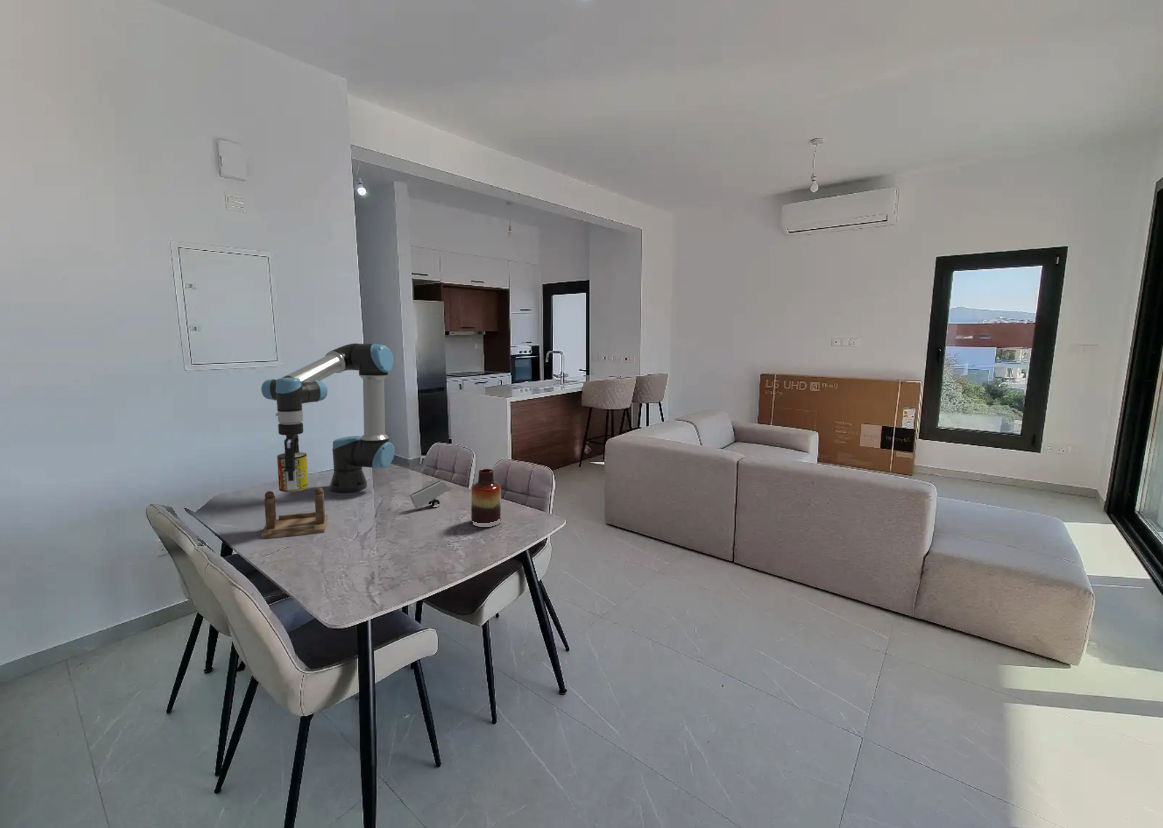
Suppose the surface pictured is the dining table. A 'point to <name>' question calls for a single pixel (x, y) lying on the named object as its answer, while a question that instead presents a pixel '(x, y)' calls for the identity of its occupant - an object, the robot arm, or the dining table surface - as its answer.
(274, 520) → the knobbed wooden cradle
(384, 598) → the dining table surface
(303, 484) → the beverage can
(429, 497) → the grey toy trailer
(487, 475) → the vase
